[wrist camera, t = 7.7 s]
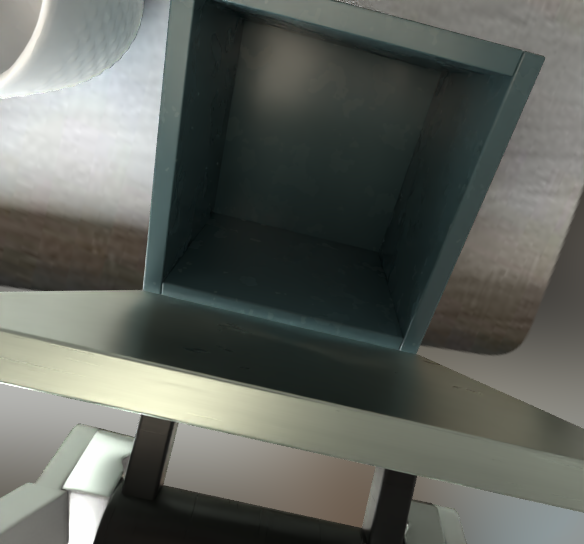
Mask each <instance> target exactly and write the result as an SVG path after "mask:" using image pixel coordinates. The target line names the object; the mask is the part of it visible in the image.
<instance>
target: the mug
mask: <svg viewBox="0 0 584 544" xmlns="http://www.w3.org/2000/svg"><path fill="white" fill-rule="evenodd" d="M143 2H144V0H0V98H9V97H13V96H28V95H31V94H37V93H38V94H43V93H47V92H49V91H59V90H62V89H64V88H66V87H74V86H76V85H78V84H79V83H81V82H86V81H89V80H91V79H92V78H93V77H95V76H98V75H100V74H102V72H103V71H104V70H106V69H109V68H111V67H112V66H113V65H114V63H115V62H117V61H119V59H121V57H122V56H123V54H124V53H125V52H126V51H127V50H128V49H129V47H130V44H131V43H132V42H133V40H134V39H135V37H136V35H137V32H138V28H139V27H140V25H141V18H142V16H143V14H142V12H143V9H144V6H143Z"/></svg>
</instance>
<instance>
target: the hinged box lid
mask: <svg viewBox="0 0 584 544" xmlns="http://www.w3.org/2000/svg"><path fill="white" fill-rule="evenodd" d="M0 383H3V384H7V385H12V386H17V387H21V388H26V389H30V390H34V391H39V392H44V393H48V394H52V395H57V396H62V397H66V398H70V399H75V400H80V401H84V402H89V403H93V404H97V405H102V406H107V407H111V408H116V409H120V410H124V411H129V412H133V413H138V414H141V415H140V418H139V422H138V427H137V431H136V434H135V438H134V442H133V446H132V450H131V454H130V458H129V462H128V466H127V470H126V474H125V478H123V479H122V480H121V481H120V482H119V484H118V485H117V487H116V488H115V490H114V492H113V494H112V496H111V498H110V499H109V501H108V503H107V506H106V508H105V510H104V513H103V515H102V518H101V520H100V523H99V526H98V529H97V532H96V535H95V538H94V541H93V544H403V538H404V533H405V529H406V524H407V519H408V515H409V510H410V506H411V501H412V496H413V492H414V487H415V483H416V478H417V476H422V477H426V478H430V479H435V480H440V481H444V482H448V483H453V484H457V485H462V486H466V487H471V488H475V489H480V490H484V491H489V492H493V493H498V494H502V495H507V496H511V497H516V498H520V499H525V500H529V501H534V502H538V503H543V504H548V505H552V506H556V507H561V508H565V509H570V510H574V511H579V512H583V513H584V429H583V428H581V427H579V426H576V425H574V424H572V423H570V422H567V421H565V420H563V419H561V418H558V417H556V416H554V415H552V414H550V413H547V412H545V411H543V410H541V409H538V408H536V407H534V406H532V405H529V404H527V403H525V402H523V401H521V400H518V399H516V398H514V397H512V396H509V395H507V394H505V393H503V392H500V391H498V390H496V389H493V388H491V387H489V386H487V385H485V384H482V383H480V382H478V381H476V380H473V379H471V378H469V377H467V376H465V375H462V374H460V373H458V372H456V371H453V370H451V369H449V368H447V367H444V366H442V365H440V364H438V363H435V362H433V361H431V360H429V359H426V358H424V357H422V356H420V355H417V354H413V353H408V352H404V351H400V350H395V349H391V348H387V347H383V346H378V345H374V344H370V343H366V342H361V341H357V340H353V339H348V338H344V337H340V336H336V335H331V334H327V333H323V332H318V331H314V330H310V329H306V328H301V327H297V326H293V325H289V324H284V323H280V322H276V321H271V320H267V319H263V318H259V317H254V316H250V315H246V314H242V313H237V312H233V311H229V310H224V309H220V308H216V307H212V306H207V305H203V304H199V303H195V302H190V301H186V300H182V299H177V298H173V297H169V296H165V295H160V294H156V293H152V292H147V291H143V290H108V291H28V292H0ZM178 423H183V424H187V425H192V426H196V427H201V428H206V429H210V430H215V431H219V432H223V433H228V434H233V435H237V436H241V437H246V438H250V439H255V440H260V441H264V442H269V443H273V444H277V445H282V446H286V447H291V448H296V449H300V450H305V451H309V452H313V453H318V454H323V455H327V456H331V457H336V458H340V459H345V460H350V461H354V462H358V463H363V464H368V465H372V466H376V468H375V472H374V477H373V481H372V486H371V490H370V494H369V499H368V503H367V508H366V512H365V517H364V522H363V526H362V528H359V527H354V526H350V525H345V524H341V523H336V522H331V521H326V520H322V519H317V518H313V517H307V516H304V515H299V514H294V513H290V512H284V511H280V510H276V509H271V508H266V507H262V506H257V505H252V504H248V503H243V502H239V501H234V500H230V499H224V498H220V497H216V496H211V495H206V494H202V493H197V492H192V491H188V490H183V489H178V488H174V487H169V486H164V485H163V484H164V480H165V476H166V472H167V468H168V464H169V459H170V456H171V452H172V447H173V443H174V439H175V435H176V431H177V427H178Z"/></svg>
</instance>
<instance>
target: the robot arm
mask: <svg viewBox="0 0 584 544" xmlns="http://www.w3.org/2000/svg"><path fill="white" fill-rule="evenodd" d="M134 438H135V437H132V436H128V435H124V434H120V433H116V432H112V431H108V430H104V429H101V428H96V427H92V426H88V425H84V424H77V425H76V426H75V427H74V428H73V429H72V430H71V432H70V433H69V434H68V436H67V437H66V439H65V440H64V442H63V443H62V445H61V446H60V448H59V449H58V451H57V452H56V454H55V455H54V456H53V458H52V459H51V461H50V462H49V464H48V465H47V467H46V468H45V469H44V471H43V472H42V474H41V475H40V477H39V478H38V480H37V481H36V482H35V484H34V483H26V484H24V485H22V486H21V487H19V488H17V489H15V490H14V491H12V492H10V493H9V494H7V495H5V496H3V497H2V498H0V544H93V541H94V538H95V535H96V532H97V529H98V526H99V523H100V520H101V518H102V515H103V513H104V510H105V508H106V506H107V503H108V501H109V499H110V498H111V496H112V494H113V492H114V490H115V488H116V487H117V485H118V484H119V482H120V481H121V480H122V479H123V478H125V474H126V470H127V466H128V462H129V458H130V454H131V450H132V446H133V442H134ZM403 544H467V542H466V539H465V535H464V532H463V528H462V525H461V522H460V518H459V515H458V513H457V511H456V510H455V509H452V508H448V507H443V506H439V505H433V504H432V503H427V502H422V501H418V500H413V499H412V501H411V506H410V510H409V515H408V519H407V524H406V529H405V533H404V538H403Z"/></svg>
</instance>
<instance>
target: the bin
mask: <svg viewBox="0 0 584 544" xmlns="http://www.w3.org/2000/svg"><path fill="white" fill-rule="evenodd" d="M544 60H545V57H544V56H542V55H538V54H534V53H531V52H527V51H522V50H520V49H516V48H512V47H509V46H505V45H501V44H497V43H494V42H490V41H486V40H482V39H479V38H475V37H471V36H467V35H464V34H460V33H456V32H452V31H448V30H445V29H441V28H437V27H433V26H430V25H426V24H422V23H418V22H415V21H411V20H407V19H403V18H400V17H396V16H392V15H388V14H384V13H381V12H377V11H373V10H369V9H366V8H362V7H358V6H354V5H351V4H347V3H343V2H339V1H336V0H170V11H169V21H168V32H167V42H166V53H165V63H164V73H163V84H162V94H161V105H160V115H159V126H158V136H157V147H156V157H155V168H154V178H153V189H152V199H151V209H150V220H149V230H148V241H147V251H146V262H145V272H144V283H143V291H147V292H152V293H156V294H160V295H165V296H169V297H173V298H177V299H182V300H186V301H190V302H195V303H199V304H203V305H207V306H212V307H216V308H220V309H224V310H229V311H233V312H237V313H242V314H246V315H250V316H254V317H259V318H263V319H267V320H271V321H276V322H280V323H284V324H289V325H293V326H297V327H301V328H306V329H310V330H314V331H318V332H323V333H327V334H331V335H336V336H340V337H344V338H348V339H353V340H357V341H361V342H366V343H370V344H374V345H378V346H383V347H387V348H391V349H395V350H400V351H404V352H408V353H413V354H416V353H417V351H418V348H419V346H420V344H421V342H422V340H423V337H424V335H425V333H426V330H427V328H428V326H429V324H430V321H431V319H432V317H433V314H434V312H435V310H436V307H437V305H438V303H439V301H440V298H441V296H442V294H443V291H444V289H445V287H446V285H447V282H448V280H449V278H450V275H451V273H452V271H453V269H454V266H455V264H456V262H457V259H458V257H459V255H460V253H461V250H462V248H463V246H464V243H465V241H466V239H467V237H468V234H469V232H470V230H471V227H472V225H473V223H474V221H475V218H476V216H477V214H478V211H479V209H480V207H481V205H482V202H483V200H484V198H485V195H486V193H487V191H488V188H489V186H490V184H491V182H492V179H493V177H494V175H495V172H496V170H497V168H498V166H499V163H500V161H501V159H502V156H503V154H504V152H505V150H506V147H507V145H508V143H509V140H510V138H511V136H512V134H513V131H514V129H515V127H516V124H517V122H518V120H519V118H520V115H521V113H522V111H523V108H524V106H525V104H526V102H527V99H528V97H529V95H530V92H531V90H532V88H533V86H534V83H535V81H536V79H537V76H538V74H539V72H540V70H541V67H542V65H543V63H544Z"/></svg>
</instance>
